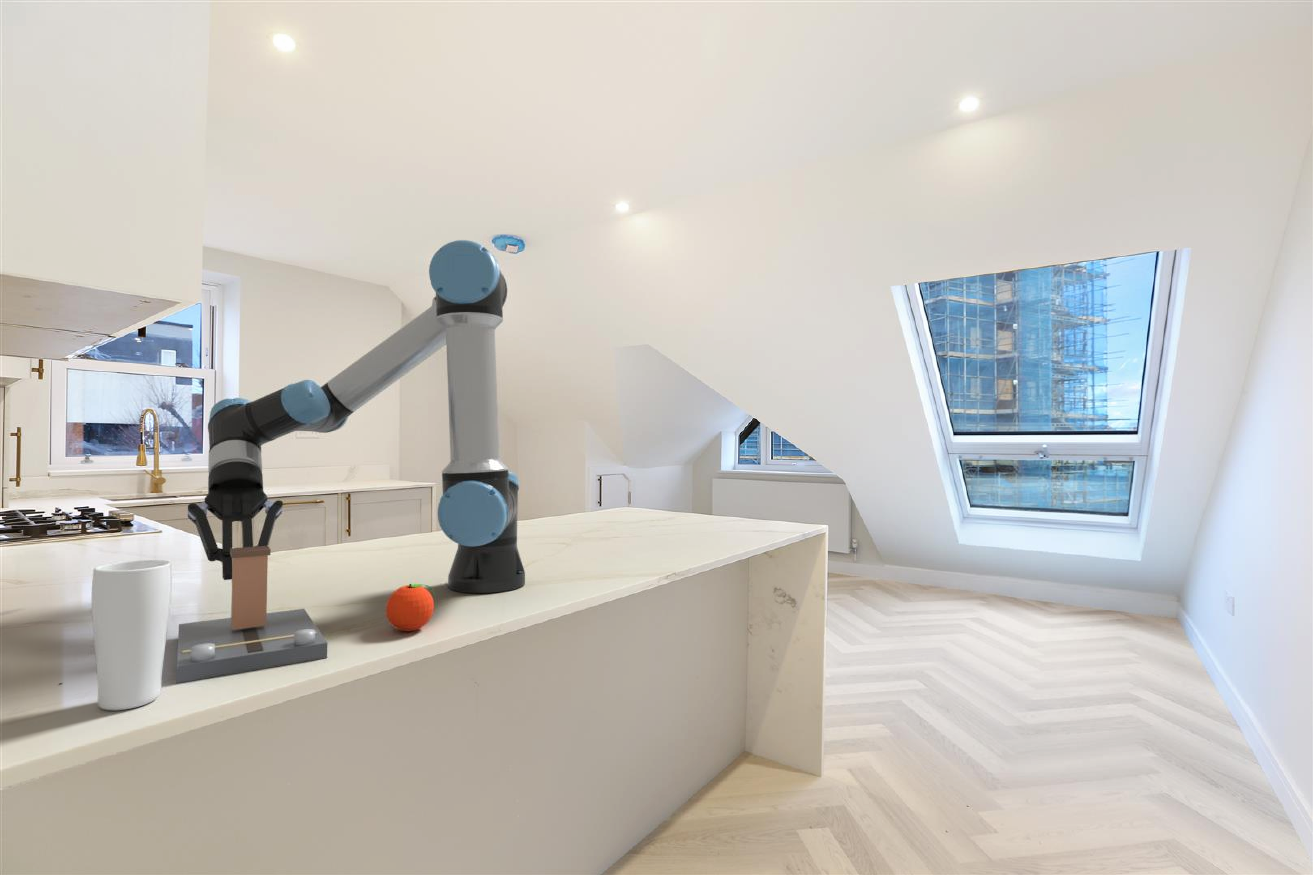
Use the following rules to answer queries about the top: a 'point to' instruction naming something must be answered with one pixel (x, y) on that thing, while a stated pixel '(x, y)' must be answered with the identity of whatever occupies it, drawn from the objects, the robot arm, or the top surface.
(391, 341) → the robot arm
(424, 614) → the clementine
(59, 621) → the top surface
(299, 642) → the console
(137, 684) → the white tumbler
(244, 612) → the fader tab
